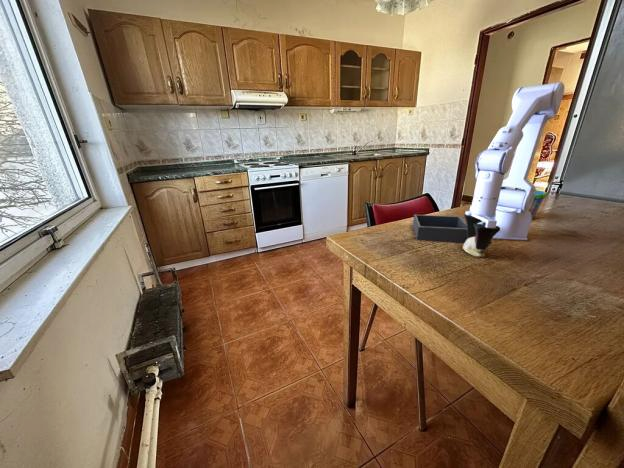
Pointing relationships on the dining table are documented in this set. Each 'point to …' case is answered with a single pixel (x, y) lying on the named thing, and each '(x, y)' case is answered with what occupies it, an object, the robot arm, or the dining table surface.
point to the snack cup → (536, 201)
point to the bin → (440, 228)
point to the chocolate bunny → (471, 246)
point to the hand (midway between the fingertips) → (475, 243)
